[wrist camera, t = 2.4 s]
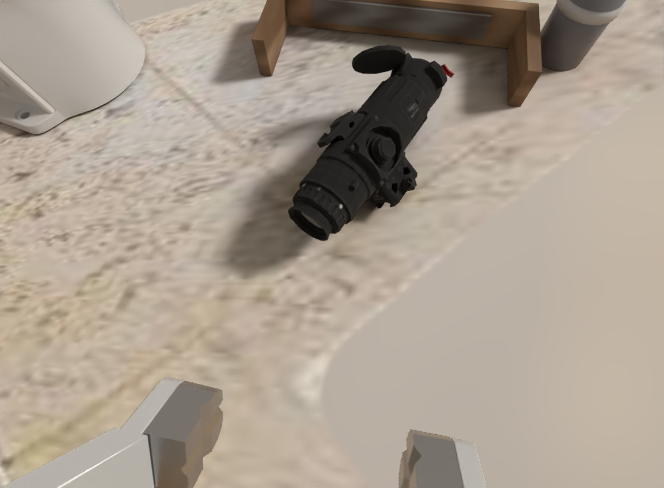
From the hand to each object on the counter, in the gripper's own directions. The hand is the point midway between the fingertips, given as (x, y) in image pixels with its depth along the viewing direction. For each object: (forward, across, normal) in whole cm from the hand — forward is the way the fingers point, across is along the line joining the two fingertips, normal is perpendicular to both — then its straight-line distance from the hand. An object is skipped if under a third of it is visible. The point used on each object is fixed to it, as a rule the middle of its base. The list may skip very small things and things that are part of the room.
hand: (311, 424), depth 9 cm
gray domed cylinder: (+38, -17, -15) cm, 44 cm away
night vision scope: (+26, 0, -2) cm, 26 cm away
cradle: (+36, 0, -12) cm, 38 cm away
